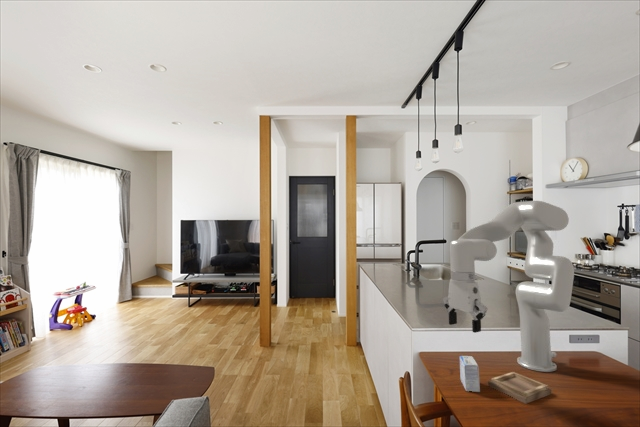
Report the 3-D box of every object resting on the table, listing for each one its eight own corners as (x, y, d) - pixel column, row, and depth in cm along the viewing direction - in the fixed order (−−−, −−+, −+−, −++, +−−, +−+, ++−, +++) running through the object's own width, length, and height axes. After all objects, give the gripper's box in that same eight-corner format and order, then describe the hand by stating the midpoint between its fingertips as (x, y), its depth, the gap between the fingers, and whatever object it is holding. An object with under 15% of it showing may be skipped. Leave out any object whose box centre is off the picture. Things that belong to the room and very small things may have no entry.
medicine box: (480, 392, 105) (479, 365, 106) (465, 391, 106) (464, 364, 107) (473, 381, 113) (472, 356, 113) (460, 380, 114) (459, 355, 114)
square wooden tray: (513, 377, 115) (513, 370, 115) (551, 393, 104) (551, 385, 104) (488, 386, 109) (487, 378, 110) (525, 403, 98) (524, 395, 98)
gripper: (493, 279, 105) (495, 333, 104) (450, 272, 120) (452, 320, 119) (476, 280, 101) (478, 337, 100) (435, 274, 117) (436, 322, 116)
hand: (464, 327), depth 110 cm, fingers open, 9 cm apart
